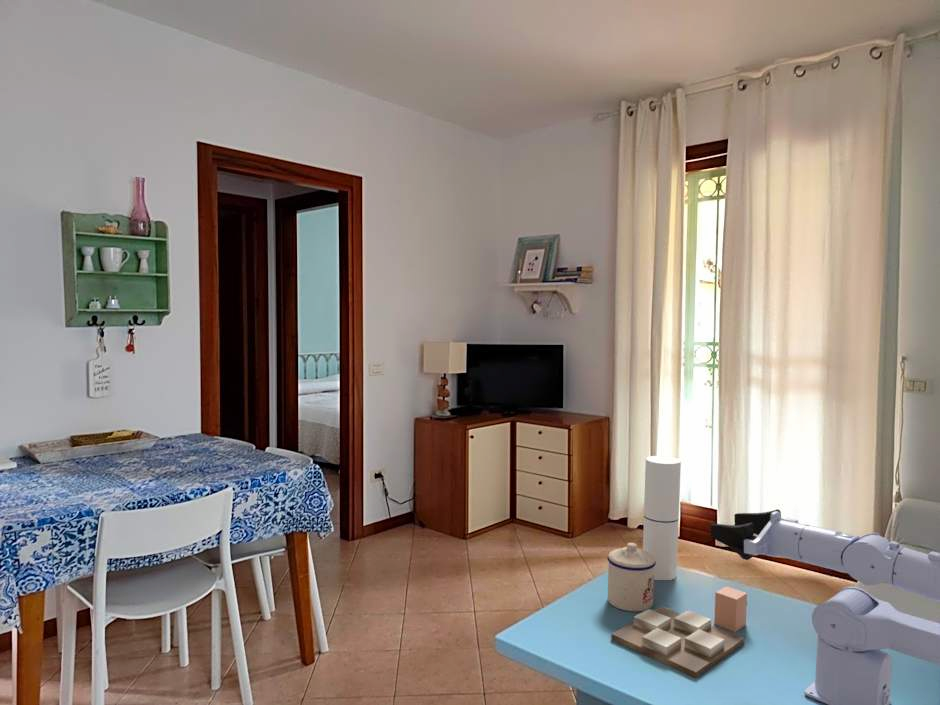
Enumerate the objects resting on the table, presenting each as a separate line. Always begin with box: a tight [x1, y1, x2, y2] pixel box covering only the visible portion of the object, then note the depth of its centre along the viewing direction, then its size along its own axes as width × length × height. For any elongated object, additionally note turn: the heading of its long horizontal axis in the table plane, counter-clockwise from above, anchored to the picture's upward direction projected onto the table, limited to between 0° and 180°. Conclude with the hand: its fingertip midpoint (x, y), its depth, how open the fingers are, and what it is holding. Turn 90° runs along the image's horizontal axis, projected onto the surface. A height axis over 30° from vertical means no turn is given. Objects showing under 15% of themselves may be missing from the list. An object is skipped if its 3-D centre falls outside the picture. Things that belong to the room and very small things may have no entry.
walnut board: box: [610, 605, 745, 679], centre depth 117 cm, size 16×16×2 cm
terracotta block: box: [713, 586, 748, 633], centre depth 123 cm, size 4×4×6 cm
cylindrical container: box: [642, 455, 682, 581], centre depth 145 cm, size 7×7×25 cm
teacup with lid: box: [607, 542, 656, 612], centre depth 133 cm, size 12×9×12 cm
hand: (723, 525), depth 114 cm, fingers open, 7 cm apart
